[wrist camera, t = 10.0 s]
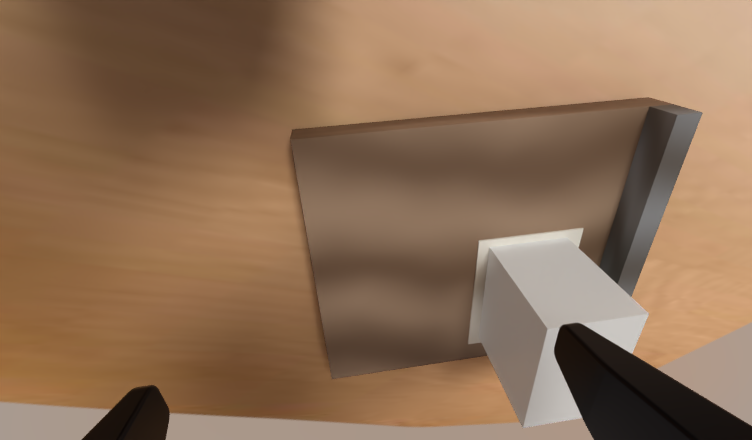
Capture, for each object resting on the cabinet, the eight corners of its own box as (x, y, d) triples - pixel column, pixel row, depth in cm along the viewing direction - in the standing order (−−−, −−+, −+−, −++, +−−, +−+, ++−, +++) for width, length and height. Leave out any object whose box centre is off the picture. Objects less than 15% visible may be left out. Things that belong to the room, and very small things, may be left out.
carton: (478, 337, 24) (522, 428, 19) (489, 247, 20) (547, 328, 15) (549, 326, 24) (611, 412, 19) (572, 236, 21) (655, 312, 16)
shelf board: (292, 129, 17) (288, 152, 15) (652, 97, 19) (706, 112, 16) (331, 360, 26) (332, 401, 23) (581, 323, 27) (610, 357, 25)
